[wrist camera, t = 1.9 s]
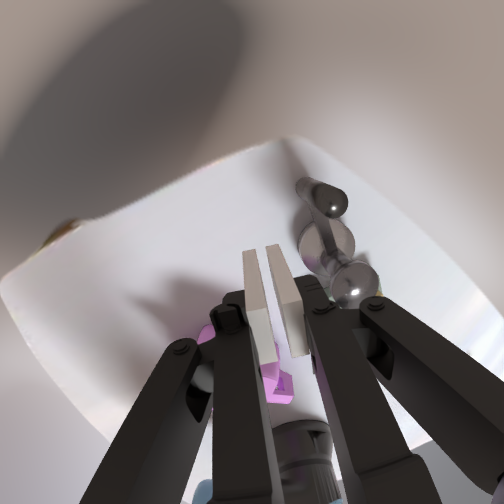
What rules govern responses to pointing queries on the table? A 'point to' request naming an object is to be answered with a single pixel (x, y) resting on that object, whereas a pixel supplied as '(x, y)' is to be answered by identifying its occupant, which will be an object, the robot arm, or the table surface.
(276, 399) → the teapot
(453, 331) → the table surface
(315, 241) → the cam capstan
